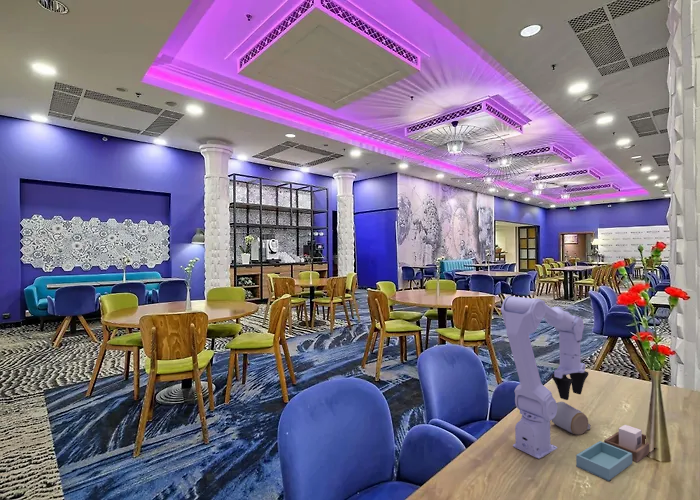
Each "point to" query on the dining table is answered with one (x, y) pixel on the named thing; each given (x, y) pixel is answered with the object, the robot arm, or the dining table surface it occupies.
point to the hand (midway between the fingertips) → (570, 396)
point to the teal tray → (603, 460)
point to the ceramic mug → (571, 419)
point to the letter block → (630, 437)
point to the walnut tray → (636, 455)
